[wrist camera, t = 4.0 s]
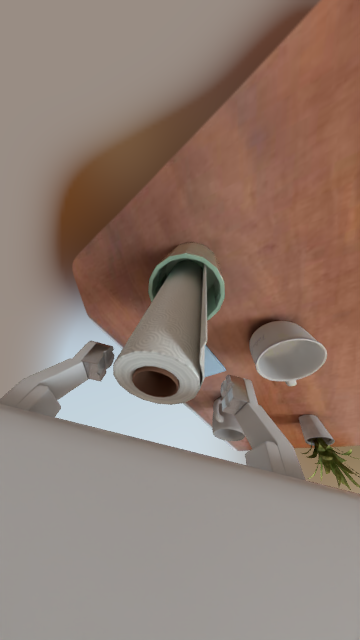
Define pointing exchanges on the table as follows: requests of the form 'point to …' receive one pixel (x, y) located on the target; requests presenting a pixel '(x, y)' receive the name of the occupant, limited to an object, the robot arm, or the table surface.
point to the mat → (212, 364)
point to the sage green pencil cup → (199, 256)
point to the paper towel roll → (169, 341)
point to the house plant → (324, 448)
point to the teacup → (285, 352)
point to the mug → (225, 424)
